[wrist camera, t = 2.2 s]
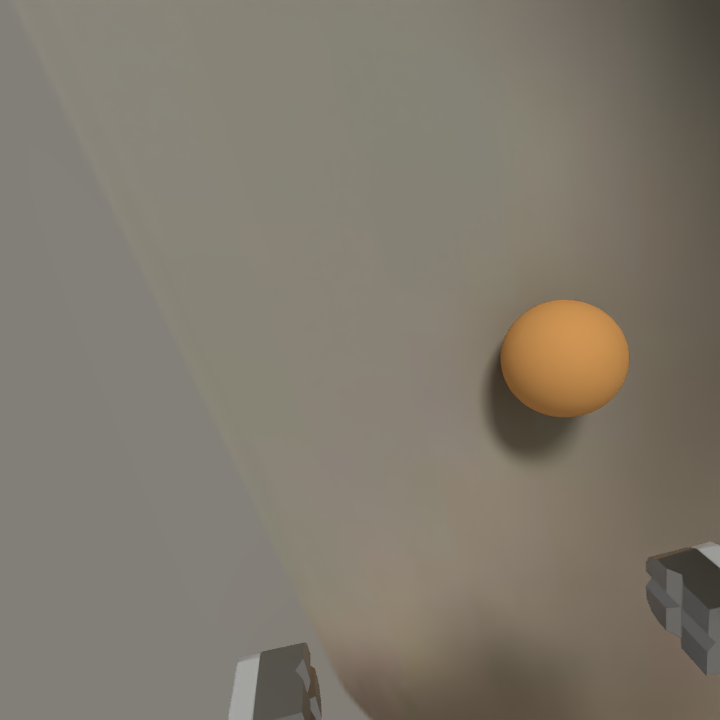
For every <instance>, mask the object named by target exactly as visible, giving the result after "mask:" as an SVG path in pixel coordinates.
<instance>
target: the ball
mask: <svg viewBox="0 0 720 720" xmlns="http://www.w3.org/2000/svg"><path fill="white" fill-rule="evenodd" d="M501 368H502V373H503V376H504V379H505V381H506V383H507V385H508V387H509V388H510V390H511V391H512V393H513V394H514V395H515V396H516V397H517V398H518V399H519V400H520V401H521V402H522V403H524V404H525V405H526V406H528V407H529V408H531V409H533V410H535V411H537V412H540V413H542V414H545V415H549V416H554V417H576V416H581V415H584V414H588V413H590V412H593V411H595V410H597V409H599V408H601V407H602V406H604V405H605V404H606V403H608V402H609V401H610V400H611V399H612V398H613V397H614V396H615V395H616V394H617V392H618V391H619V390H620V388H621V386H622V385H623V383H624V381H625V378H626V376H627V372H628V368H629V349H628V345H627V342H626V339H625V336H624V334H623V332H622V331H621V329H620V327H619V326H618V325H617V324H616V322H615V321H614V320H613V319H612V318H611V317H610V316H609V315H608V314H606V313H605V312H603V311H602V310H600V309H599V308H597V307H595V306H592V305H590V304H588V303H584V302H580V301H575V300H555V301H550V302H546V303H543V304H540V305H537V306H535V307H533V308H531V309H530V310H528V311H526V312H525V313H524V314H522V315H521V316H520V317H519V318H518V319H517V320H516V321H515V322H514V323H513V325H512V326H511V327H510V329H509V330H508V332H507V334H506V336H505V339H504V341H503V345H502V349H501Z"/></svg>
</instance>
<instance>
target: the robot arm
mask: <svg viewBox="0 0 720 720" xmlns="http://www.w3.org/2000/svg"><path fill="white" fill-rule="evenodd" d="M646 572H647V573H648V574H649V575H650V576H651V577H652V578H651V580H650V581H649V583H648V584H647V586H646V593H647V600H648V603H649V605H650V608H651V610H652V612H653V614H654V615H655V617H656V618H657V620H658V621H659V622H660V624H661V625H662V626H663V627H664V628H665V630H666V631H668V632H670V633H672V634H675V635H677V636H679V637H681V645H682V649H683V650H684V651H685V652H686V653H687V655H688V656H689V657H690V658H691V659H692V660H693V661H694V662H695V664H696V665H697V666H698V667H699V668H700V669H701V670H702V671H703V673H704V674H705V675H706V676H709V675H714V674H718V673H720V546H719V545H718V544H716V543H713V542H708V543H704V544H700V545H696V546H692V547H689V548H683V549H679V550H675V551H672V552H668V553H664V554H660V555H656V556H652V557H649V558H648V560H647V562H646ZM228 720H321V698H320V689H319V684H318V679H317V675H316V671H315V669H314V668H313V667H311V666H310V652H309V649H308V646H307V643H301V644H296V645H291V646H287V647H282V648H277V649H272V650H268V651H263V652H260V653H256V654H251V655H247V656H242V657H240V659H239V661H238V663H237V666H236V672H235V678H234V684H233V690H232V696H231V702H230V708H229V713H228Z"/></svg>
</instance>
